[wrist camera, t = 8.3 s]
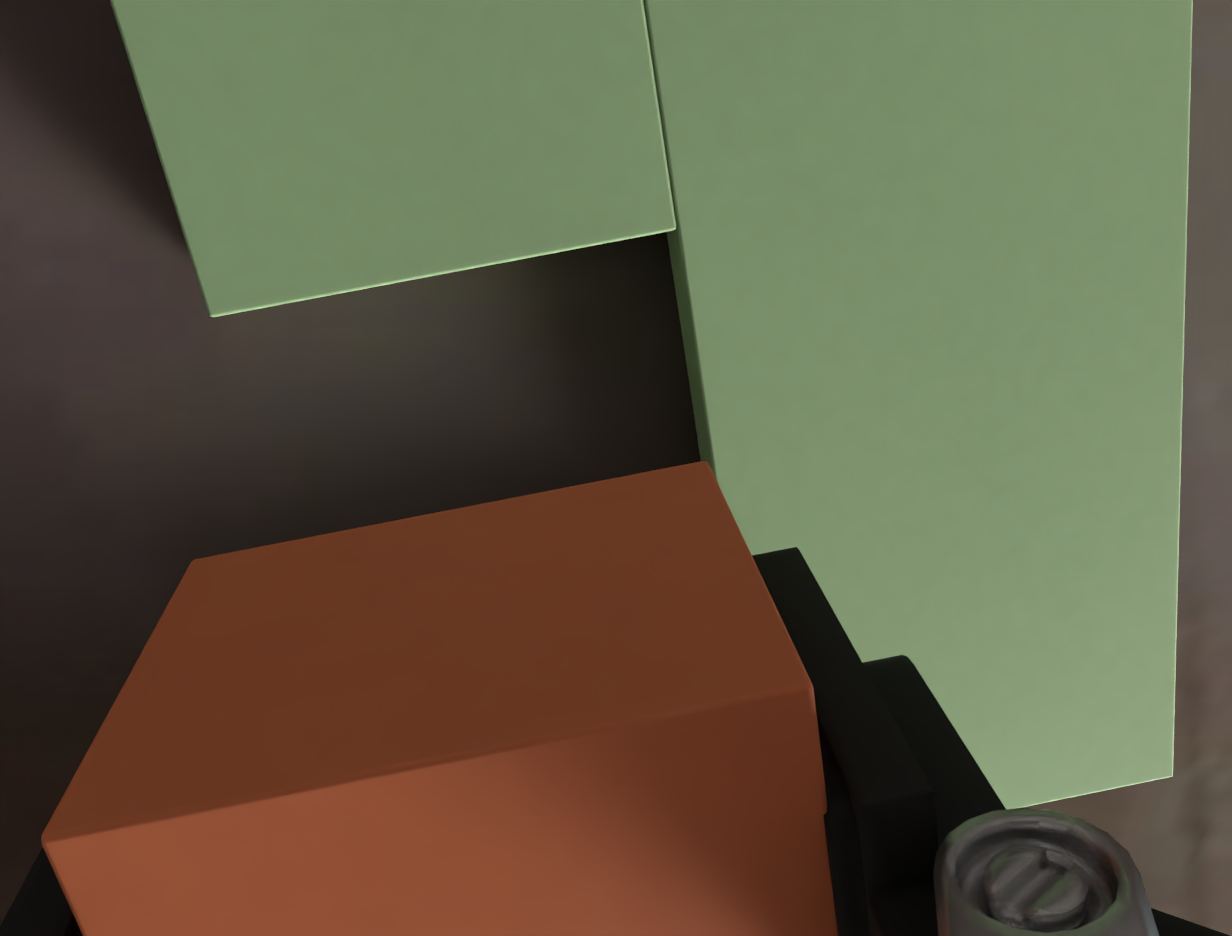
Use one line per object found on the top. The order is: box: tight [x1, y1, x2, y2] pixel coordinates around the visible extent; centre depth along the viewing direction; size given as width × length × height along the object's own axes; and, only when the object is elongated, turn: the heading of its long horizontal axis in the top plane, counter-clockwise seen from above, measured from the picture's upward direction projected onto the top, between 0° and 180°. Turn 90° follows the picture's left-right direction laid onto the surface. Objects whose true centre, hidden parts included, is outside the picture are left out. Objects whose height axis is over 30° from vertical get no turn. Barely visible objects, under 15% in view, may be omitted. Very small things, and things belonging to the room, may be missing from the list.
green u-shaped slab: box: [110, 0, 1193, 809], centre depth 18 cm, size 16×14×2 cm
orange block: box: [41, 461, 838, 936], centre depth 10 cm, size 5×5×4 cm
